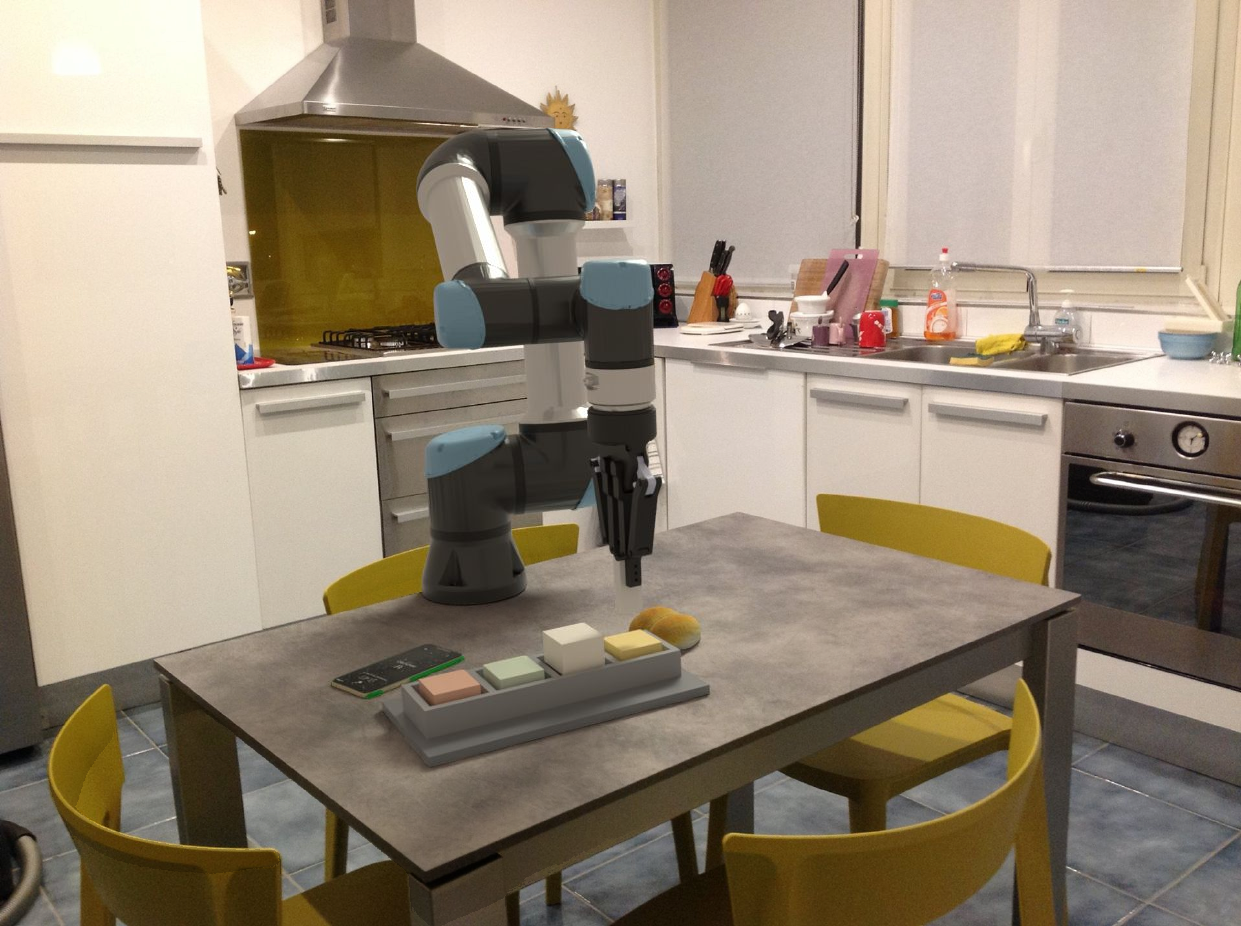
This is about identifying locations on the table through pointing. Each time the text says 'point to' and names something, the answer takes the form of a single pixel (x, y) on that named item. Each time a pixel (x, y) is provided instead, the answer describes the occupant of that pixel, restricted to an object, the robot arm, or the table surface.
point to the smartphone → (397, 670)
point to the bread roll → (668, 626)
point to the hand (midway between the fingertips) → (629, 610)
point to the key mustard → (631, 645)
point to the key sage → (512, 672)
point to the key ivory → (573, 648)
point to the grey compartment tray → (540, 704)
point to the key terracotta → (448, 687)
